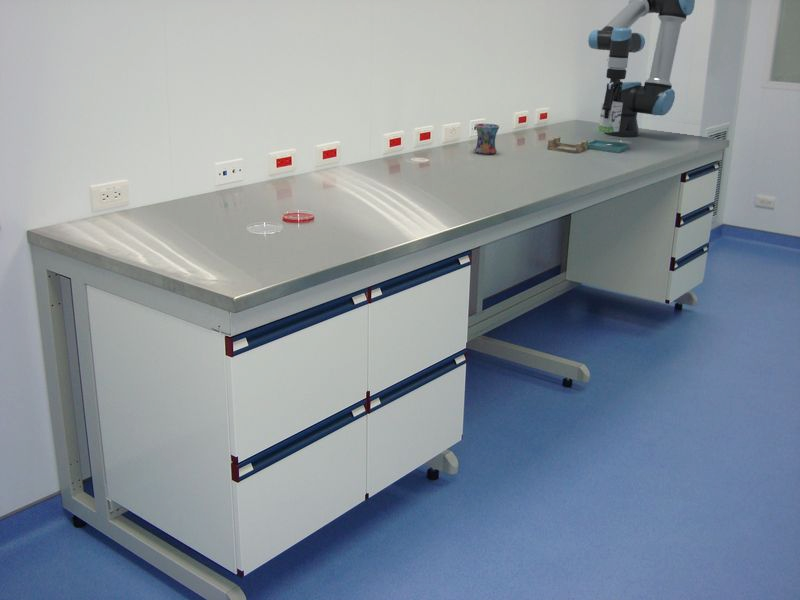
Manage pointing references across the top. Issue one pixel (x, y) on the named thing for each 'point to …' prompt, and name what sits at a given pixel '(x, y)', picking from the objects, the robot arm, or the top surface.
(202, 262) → the top surface
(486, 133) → the mug
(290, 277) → the top surface
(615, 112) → the ink box
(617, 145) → the tray
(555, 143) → the frame
